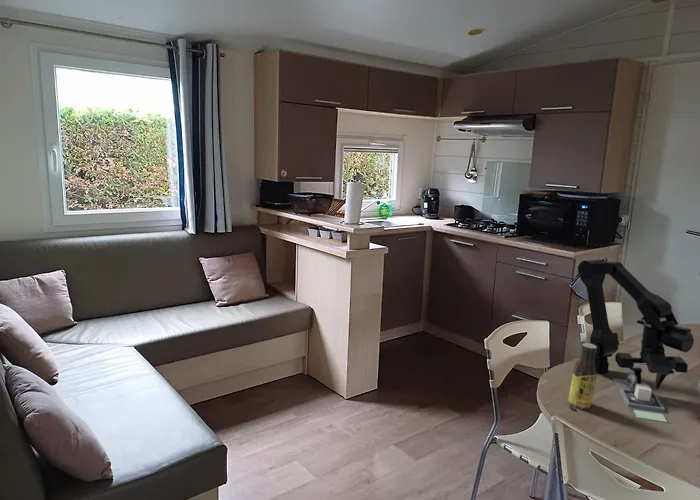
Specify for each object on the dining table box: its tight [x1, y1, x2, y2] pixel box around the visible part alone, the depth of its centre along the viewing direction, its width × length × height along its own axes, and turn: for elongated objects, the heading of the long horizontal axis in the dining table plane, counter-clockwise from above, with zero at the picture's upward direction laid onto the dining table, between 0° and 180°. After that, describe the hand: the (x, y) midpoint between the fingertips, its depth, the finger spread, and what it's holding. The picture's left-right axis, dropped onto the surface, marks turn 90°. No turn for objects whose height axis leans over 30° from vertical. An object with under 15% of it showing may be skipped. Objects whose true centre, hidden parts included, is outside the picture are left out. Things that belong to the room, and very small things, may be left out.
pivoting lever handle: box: [626, 370, 637, 392], centre depth 163 cm, size 3×11×3 cm, turn 154°
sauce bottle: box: [567, 342, 598, 411], centre depth 151 cm, size 6×6×20 cm
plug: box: [628, 383, 655, 406], centre depth 155 cm, size 7×7×5 cm
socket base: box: [613, 377, 672, 424], centre depth 157 cm, size 10×25×2 cm, turn 165°
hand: (647, 387), depth 160 cm, fingers open, 5 cm apart
